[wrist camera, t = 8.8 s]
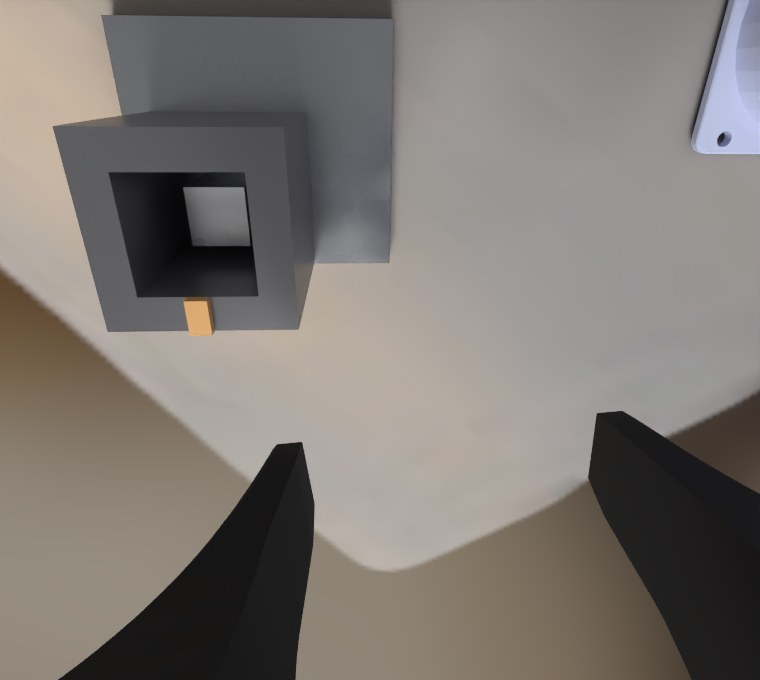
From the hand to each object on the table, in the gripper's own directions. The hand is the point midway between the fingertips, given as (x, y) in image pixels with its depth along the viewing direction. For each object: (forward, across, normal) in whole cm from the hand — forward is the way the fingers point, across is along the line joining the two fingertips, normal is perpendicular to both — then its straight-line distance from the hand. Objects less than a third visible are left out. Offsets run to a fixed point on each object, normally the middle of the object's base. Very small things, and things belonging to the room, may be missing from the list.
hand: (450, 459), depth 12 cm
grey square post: (+10, +6, -5) cm, 13 cm away
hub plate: (+10, +5, -6) cm, 13 cm away
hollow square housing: (+9, +6, -5) cm, 12 cm away
